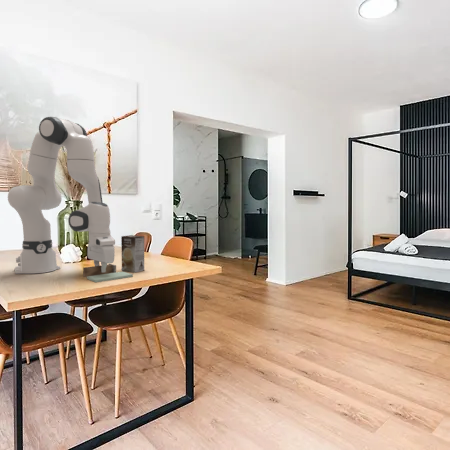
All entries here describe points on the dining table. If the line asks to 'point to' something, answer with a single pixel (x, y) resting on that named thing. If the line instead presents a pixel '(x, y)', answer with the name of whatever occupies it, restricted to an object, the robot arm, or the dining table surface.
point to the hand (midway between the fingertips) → (100, 271)
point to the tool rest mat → (109, 276)
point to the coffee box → (132, 253)
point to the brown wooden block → (98, 270)
